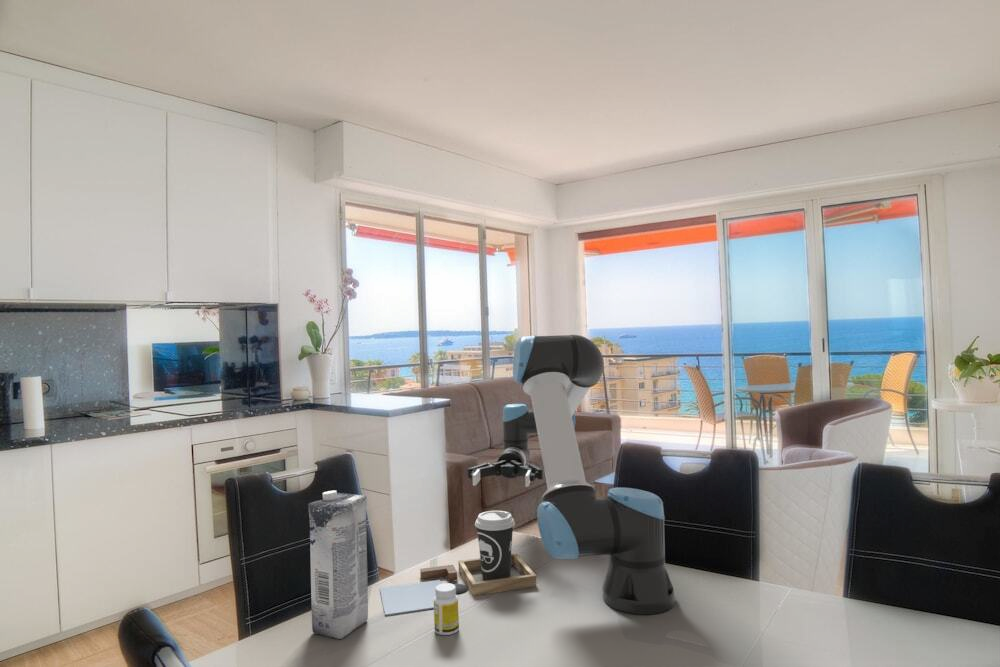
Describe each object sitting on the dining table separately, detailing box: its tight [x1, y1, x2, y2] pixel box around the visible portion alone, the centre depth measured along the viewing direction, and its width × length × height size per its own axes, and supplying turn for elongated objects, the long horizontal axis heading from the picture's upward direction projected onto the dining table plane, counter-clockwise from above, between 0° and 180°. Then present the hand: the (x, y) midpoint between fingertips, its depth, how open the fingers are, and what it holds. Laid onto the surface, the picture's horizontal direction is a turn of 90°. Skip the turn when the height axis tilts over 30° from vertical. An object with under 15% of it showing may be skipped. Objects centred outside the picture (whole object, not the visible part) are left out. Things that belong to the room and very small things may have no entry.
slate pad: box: [379, 579, 443, 617], centre depth 133 cm, size 14×14×1 cm
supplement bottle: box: [433, 582, 460, 636], centre depth 118 cm, size 5×5×8 cm
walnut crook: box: [419, 564, 458, 582], centre depth 143 cm, size 5×8×2 cm, turn 106°
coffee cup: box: [474, 510, 516, 581], centre depth 142 cm, size 10×10×15 cm
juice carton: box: [307, 490, 369, 640], centre depth 120 cm, size 9×10×27 cm
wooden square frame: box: [458, 553, 537, 597], centre depth 142 cm, size 15×15×2 cm
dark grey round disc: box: [454, 583, 469, 595], centre depth 137 cm, size 5×5×1 cm
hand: (500, 480), depth 152 cm, fingers open, 13 cm apart
